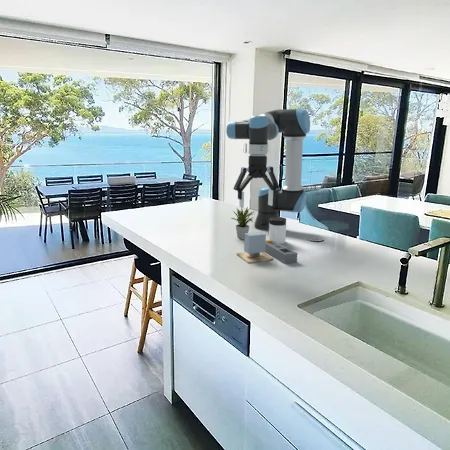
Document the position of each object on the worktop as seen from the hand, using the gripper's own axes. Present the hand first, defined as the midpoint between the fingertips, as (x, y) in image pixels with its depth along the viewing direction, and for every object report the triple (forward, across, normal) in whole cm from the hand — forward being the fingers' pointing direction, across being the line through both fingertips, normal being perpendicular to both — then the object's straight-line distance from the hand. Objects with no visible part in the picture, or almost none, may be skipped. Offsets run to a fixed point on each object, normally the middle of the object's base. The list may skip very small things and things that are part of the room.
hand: (256, 206), depth 159 cm
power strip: (+23, +11, +2) cm, 25 cm away
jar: (+23, +21, +17) cm, 35 cm away
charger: (+22, 0, 0) cm, 22 cm away
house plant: (+23, +8, +29) cm, 38 cm away
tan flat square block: (+23, 0, 0) cm, 23 cm away
